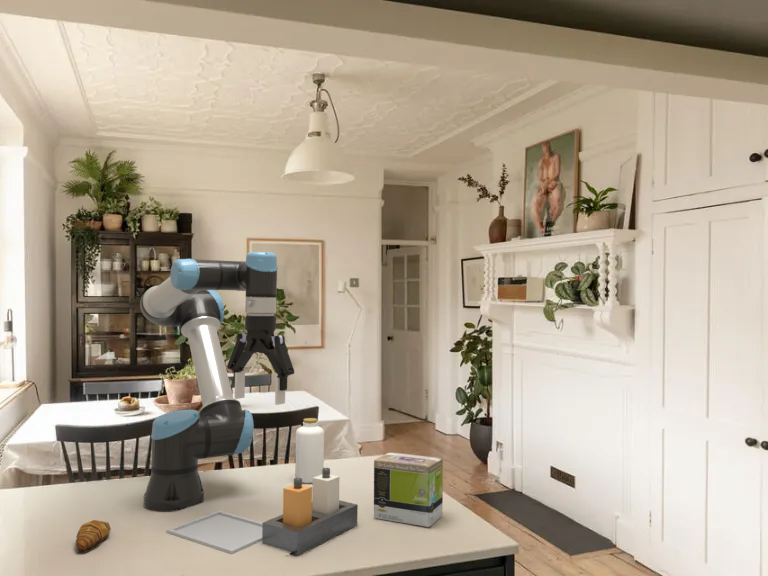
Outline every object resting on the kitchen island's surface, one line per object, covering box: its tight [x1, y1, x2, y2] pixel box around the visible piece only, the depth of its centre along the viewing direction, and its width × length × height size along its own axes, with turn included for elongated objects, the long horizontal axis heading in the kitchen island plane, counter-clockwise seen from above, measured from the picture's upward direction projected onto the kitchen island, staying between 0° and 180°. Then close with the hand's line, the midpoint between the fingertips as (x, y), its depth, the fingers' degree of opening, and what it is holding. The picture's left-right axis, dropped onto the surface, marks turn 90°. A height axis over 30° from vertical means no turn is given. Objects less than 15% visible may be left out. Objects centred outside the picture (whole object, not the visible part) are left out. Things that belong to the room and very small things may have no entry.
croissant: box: [75, 519, 112, 553], centre depth 142 cm, size 14×7×5 cm, turn 2°
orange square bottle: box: [282, 477, 312, 528], centre depth 143 cm, size 4×4×12 cm
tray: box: [165, 510, 264, 555], centre depth 147 cm, size 21×16×1 cm
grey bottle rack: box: [261, 499, 359, 557], centre depth 147 cm, size 10×22×5 cm, turn 147°
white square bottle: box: [311, 467, 340, 514], centre depth 152 cm, size 4×4×12 cm
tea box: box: [373, 451, 444, 528], centre depth 160 cm, size 15×10×15 cm, turn 65°
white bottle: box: [294, 417, 325, 484], centre depth 190 cm, size 8×8×18 cm
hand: (259, 401), depth 158 cm, fingers open, 13 cm apart
